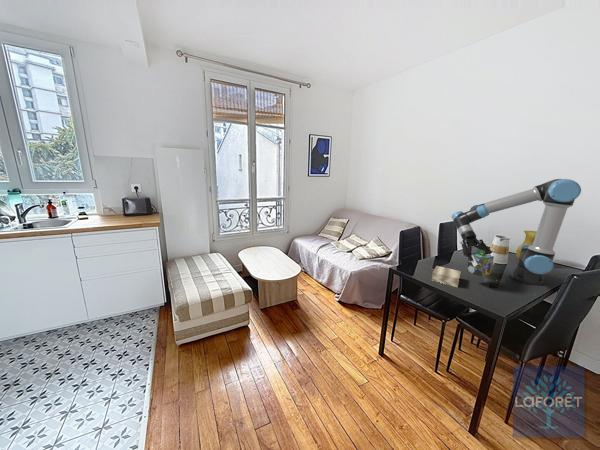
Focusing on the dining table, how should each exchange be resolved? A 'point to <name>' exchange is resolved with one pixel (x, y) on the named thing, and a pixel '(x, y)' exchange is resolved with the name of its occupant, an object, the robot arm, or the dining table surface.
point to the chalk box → (481, 264)
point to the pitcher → (527, 241)
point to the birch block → (446, 276)
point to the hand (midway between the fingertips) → (484, 265)
